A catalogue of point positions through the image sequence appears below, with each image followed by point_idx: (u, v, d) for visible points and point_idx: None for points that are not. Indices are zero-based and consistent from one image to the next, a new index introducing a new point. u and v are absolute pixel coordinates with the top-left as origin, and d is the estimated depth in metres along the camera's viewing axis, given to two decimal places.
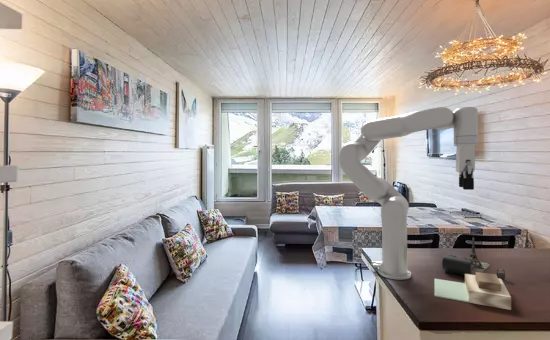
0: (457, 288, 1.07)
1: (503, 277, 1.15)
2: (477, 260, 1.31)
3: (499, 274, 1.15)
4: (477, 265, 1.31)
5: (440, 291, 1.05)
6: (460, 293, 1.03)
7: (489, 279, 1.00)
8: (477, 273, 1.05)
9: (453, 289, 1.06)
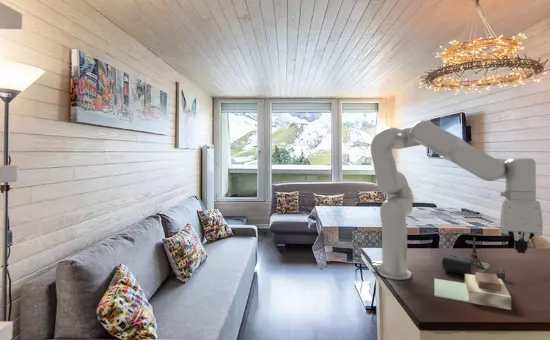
0: (457, 288, 1.07)
1: (503, 277, 1.15)
2: (478, 260, 1.31)
3: (499, 274, 1.15)
4: (478, 265, 1.31)
5: (440, 291, 1.05)
6: (460, 293, 1.03)
7: (489, 279, 1.00)
8: (477, 273, 1.05)
9: (453, 289, 1.06)
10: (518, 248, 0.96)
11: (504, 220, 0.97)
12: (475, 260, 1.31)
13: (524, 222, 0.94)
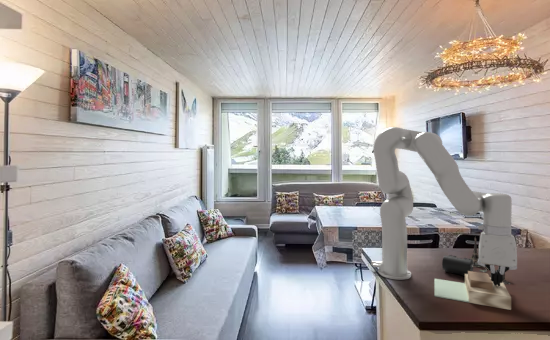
0: (457, 288, 1.07)
1: (503, 277, 1.15)
2: None
3: None
4: (479, 265, 1.30)
5: (440, 291, 1.05)
6: (460, 293, 1.03)
7: (480, 278, 1.01)
8: (469, 272, 1.06)
9: (453, 289, 1.06)
10: (494, 280, 1.00)
11: (481, 253, 1.00)
12: (476, 260, 1.30)
13: (500, 256, 0.97)
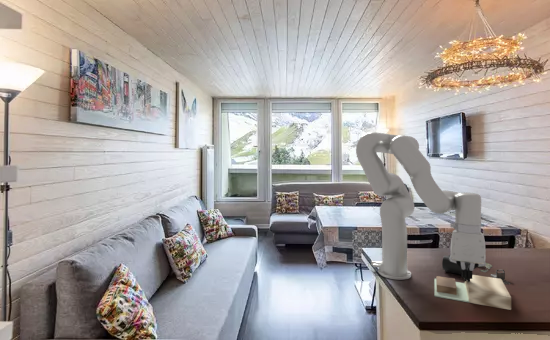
0: (457, 288, 1.07)
1: (503, 277, 1.15)
2: None
3: (499, 274, 1.15)
4: (480, 266, 1.30)
5: None
6: (460, 293, 1.03)
7: None
8: None
9: None
10: (464, 276, 1.04)
11: (452, 250, 1.04)
12: None
13: (469, 253, 1.01)
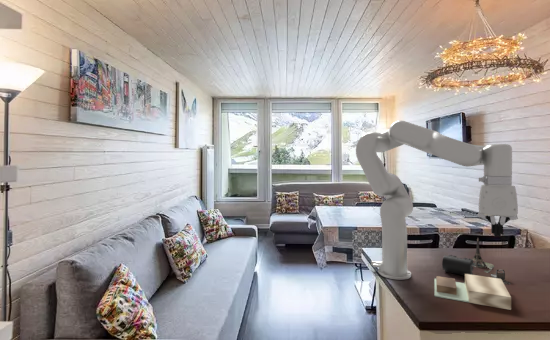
0: (457, 288, 1.07)
1: (503, 277, 1.15)
2: (482, 261, 1.30)
3: (499, 274, 1.15)
4: (482, 266, 1.30)
5: None
6: (460, 293, 1.03)
7: None
8: None
9: None
10: (494, 232, 0.99)
11: (481, 204, 0.99)
12: (479, 261, 1.30)
13: (500, 206, 0.97)
